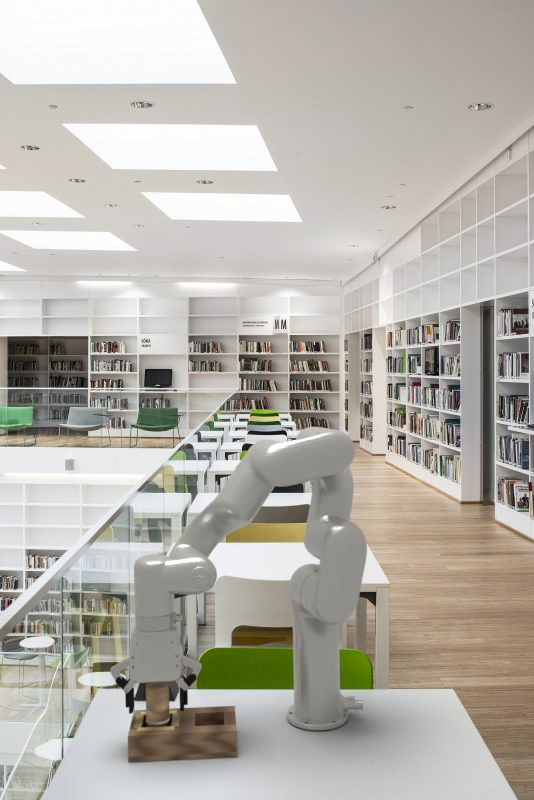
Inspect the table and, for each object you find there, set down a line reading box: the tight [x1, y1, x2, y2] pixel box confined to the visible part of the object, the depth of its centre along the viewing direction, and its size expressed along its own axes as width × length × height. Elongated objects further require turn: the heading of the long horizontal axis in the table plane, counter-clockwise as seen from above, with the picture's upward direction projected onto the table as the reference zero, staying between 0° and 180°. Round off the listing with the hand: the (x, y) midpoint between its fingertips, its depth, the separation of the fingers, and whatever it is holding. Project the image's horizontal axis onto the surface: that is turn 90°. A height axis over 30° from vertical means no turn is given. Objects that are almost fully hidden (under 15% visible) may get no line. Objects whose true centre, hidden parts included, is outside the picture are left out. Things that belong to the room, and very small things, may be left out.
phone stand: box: [134, 681, 180, 702], centre depth 175 cm, size 9×6×12 cm, turn 86°
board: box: [127, 705, 238, 763], centre depth 151 cm, size 20×11×5 cm, turn 94°
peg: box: [145, 682, 170, 727], centre depth 151 cm, size 4×4×11 cm
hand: (157, 709), depth 150 cm, fingers open, 9 cm apart
